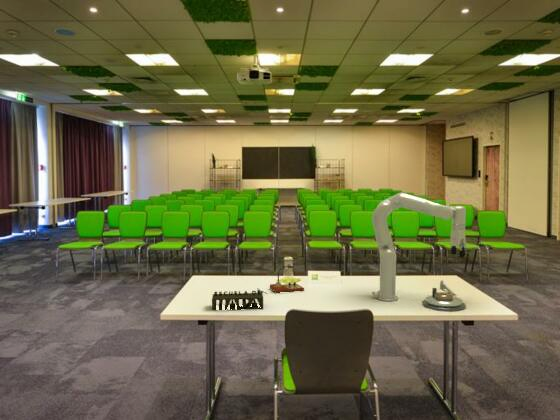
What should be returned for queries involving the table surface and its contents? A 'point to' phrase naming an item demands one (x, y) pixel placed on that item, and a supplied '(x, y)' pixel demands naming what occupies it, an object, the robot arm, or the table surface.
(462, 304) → the base
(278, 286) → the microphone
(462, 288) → the table surface
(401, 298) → the table surface
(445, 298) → the turntable
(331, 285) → the table surface
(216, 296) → the sign
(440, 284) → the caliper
